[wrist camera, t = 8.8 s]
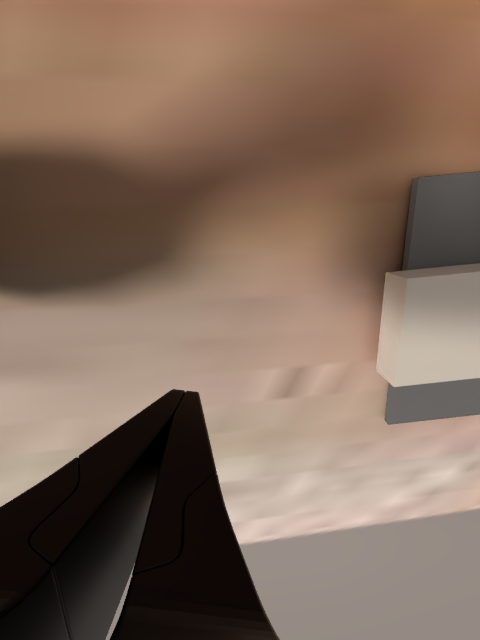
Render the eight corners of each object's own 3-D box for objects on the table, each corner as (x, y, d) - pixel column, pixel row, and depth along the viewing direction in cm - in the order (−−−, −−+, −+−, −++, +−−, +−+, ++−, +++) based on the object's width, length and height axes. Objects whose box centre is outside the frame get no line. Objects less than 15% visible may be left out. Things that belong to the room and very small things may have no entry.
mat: (384, 420, 25) (388, 424, 24) (412, 178, 18) (418, 177, 17) (521, 404, 25) (528, 409, 24) (599, 161, 18) (612, 159, 18)
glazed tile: (393, 387, 19) (527, 372, 20) (407, 278, 17) (561, 263, 17) (374, 368, 22) (492, 355, 22) (383, 271, 19) (517, 258, 19)
